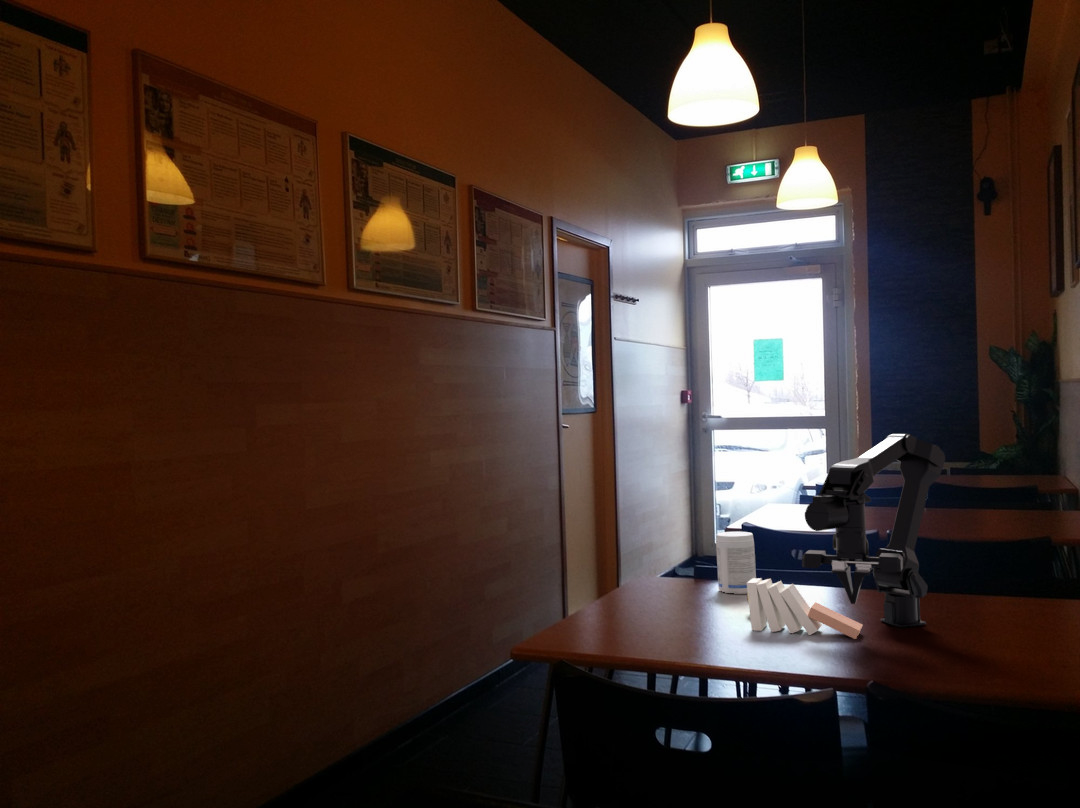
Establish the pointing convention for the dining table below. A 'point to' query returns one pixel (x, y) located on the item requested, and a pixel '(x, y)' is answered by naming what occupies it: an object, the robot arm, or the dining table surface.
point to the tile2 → (800, 609)
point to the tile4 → (770, 606)
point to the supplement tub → (735, 561)
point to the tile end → (756, 606)
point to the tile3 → (784, 607)
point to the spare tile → (835, 620)
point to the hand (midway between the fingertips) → (853, 603)
